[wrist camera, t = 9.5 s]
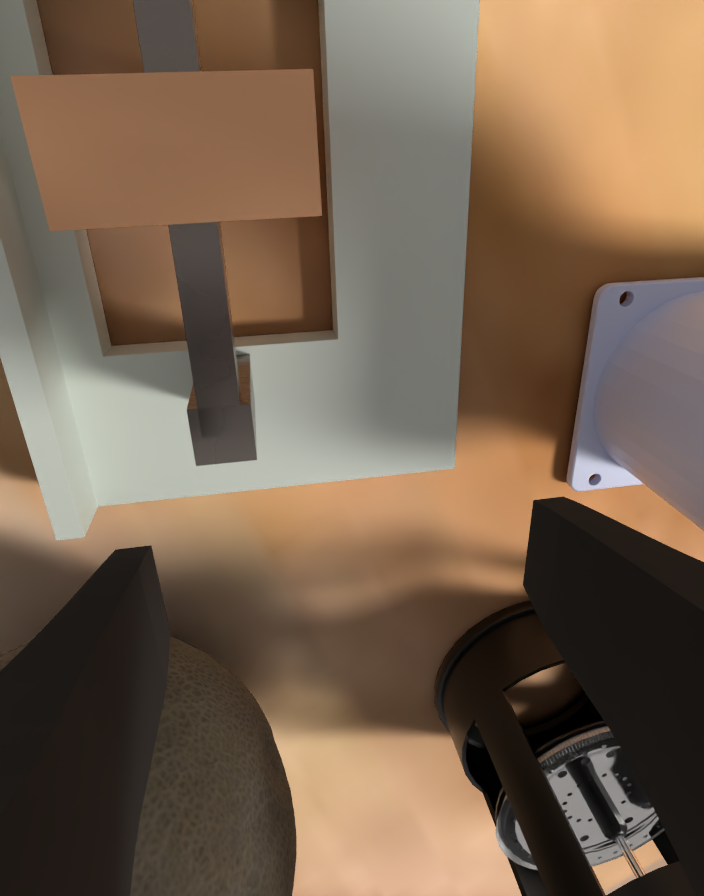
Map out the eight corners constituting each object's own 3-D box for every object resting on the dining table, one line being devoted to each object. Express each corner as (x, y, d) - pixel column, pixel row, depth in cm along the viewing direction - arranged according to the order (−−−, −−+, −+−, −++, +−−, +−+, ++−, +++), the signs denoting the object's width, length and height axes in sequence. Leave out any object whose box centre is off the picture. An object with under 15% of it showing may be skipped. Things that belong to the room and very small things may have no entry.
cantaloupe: (135, 471, 20) (-87, 1074, 7) (339, 697, 26) (436, 1238, 13) (-181, 665, 21) (-909, 1507, 8) (87, 836, 28) (-63, 1463, 14)
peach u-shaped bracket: (291, 102, 15) (313, 68, 10) (299, 202, 16) (322, 215, 11) (89, 108, 14) (10, 76, 9) (111, 213, 15) (49, 231, 10)
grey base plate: (485, -486, 12) (553, -671, 9) (444, 454, 22) (472, 493, 19) (-206, -572, 10) (-363, -831, 8) (81, 491, 20) (56, 540, 17)
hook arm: (210, -12, 15) (188, -127, 9) (254, 387, 19) (257, 474, 14) (149, -13, 14) (88, -131, 9) (208, 390, 19) (193, 481, 14)
